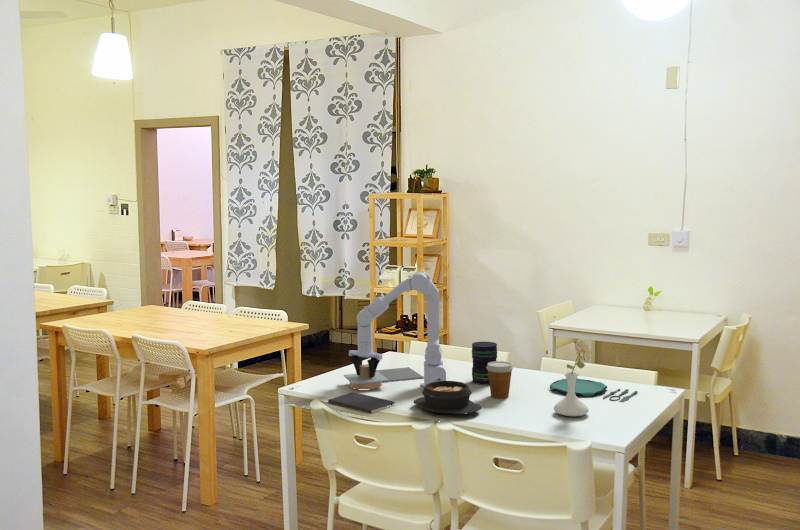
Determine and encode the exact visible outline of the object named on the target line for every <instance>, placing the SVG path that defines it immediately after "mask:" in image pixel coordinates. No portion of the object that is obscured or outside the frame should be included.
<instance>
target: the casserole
mask: <svg viewBox="0 0 800 530" xmlns="http://www.w3.org/2000/svg"><path fill="white" fill-rule="evenodd" d="M421 393H422V395H423V396H420V397H417V398H416V399H414V400H413V402H412V403H413V404H414V405H417V406H419V407H420V408H422V409H423V410H424V411H425V410H426V411H428V412H431V411H432V413H434V412H435V413H434V414H438V413H440V415H468V414H473V413H476V412H479V411H480V410H482V405H480V404H478V403H475V402H474V401H472V400H471V399H470V397H471V395H472V393H473V392H472V390H471V389H470V387H469V384H467V383H466V382H465V383H464V382H462V381H458V380H457V381H456V380H446V381H436V382H431V383H428V384H426V385H425V387H423V390H422V391H421Z"/></svg>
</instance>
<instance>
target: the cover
mask: <svg viewBox="0 0 800 530" xmlns="http://www.w3.org/2000/svg"><path fill="white" fill-rule="evenodd" d="M343 377H344V378H345V379H346V380H347V381H348V382H349V383H350V382H351V383H352V384H353V385H356V384H366V383H375V382H382V383H386V382H385V381H389V380H388V379H387V378H386V377H384V376H383V375H382V374H380V373H379V372H375V377H372V378H370V370H369V364H368V363H367V364H362V365H359V376H357V373H350V374H349V373H348V374H343Z"/></svg>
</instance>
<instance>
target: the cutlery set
mask: <svg viewBox="0 0 800 530" xmlns="http://www.w3.org/2000/svg"><path fill="white" fill-rule="evenodd" d="M607 388H608V386H607V385H606V384H605V383H603V382H601V381H595V380H589V379H584V378H578V377H577V378H576V381H575V395H576V396H577V395H581V396H583V397H592V396H594V395H597V394H600V393H604V392H605V391H606V390H607ZM549 389H550V391H553V390H555V391H557V392H560V393H564V394H567V393H568V383H567V379H566V378H561V379H559V380H558V379H557V380H555V381H553V382H551V384H549ZM618 391H619V392H620V391H621V388H618V389H616V390H614V391H610V393H608V394H606V395H604V396H603V397H602V399H603V400H605V399H607V398H609V399H610V400H611V401H613V398H614V399H615V401H618V402H619V403H624V402H627V401H629V400H630V398H632V397H633V396H635V395H637V394H638V390H635V391H633V392H632V393H631V394H629V395H625V396H623V395H624V394H625V393H626V394H627V393H628V392H629V388H628V389H624V390H623V391H622V392H620V393H619V394H618V395H614V394H616V392H618ZM621 396H623V397H622V398H621ZM616 398H617V399H616Z"/></svg>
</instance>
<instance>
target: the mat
mask: <svg viewBox="0 0 800 530" xmlns="http://www.w3.org/2000/svg"><path fill="white" fill-rule="evenodd" d="M376 372H379V373H380V374H382V375H383V376H384V377H386V378H387V379H388V380H389V381H392V382H400V381H399V380H402V381H411V380H410V379H412V380H420V379H421V378H422V379H424V376H423V375H422V374H420V373H418V372H417V371H416V370H414V369H412V368H410V367H409V366H407V367H399V368H387V369H376ZM384 383H388V382H387V381H385V382H384Z"/></svg>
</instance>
